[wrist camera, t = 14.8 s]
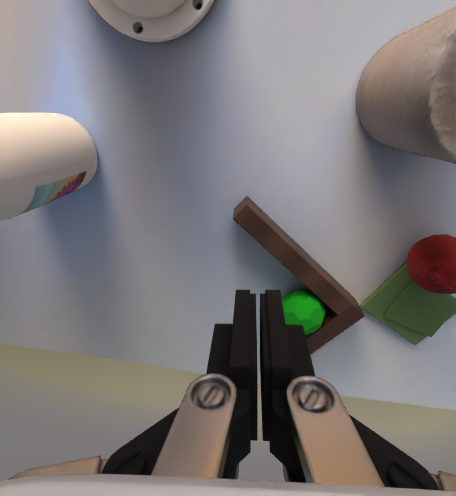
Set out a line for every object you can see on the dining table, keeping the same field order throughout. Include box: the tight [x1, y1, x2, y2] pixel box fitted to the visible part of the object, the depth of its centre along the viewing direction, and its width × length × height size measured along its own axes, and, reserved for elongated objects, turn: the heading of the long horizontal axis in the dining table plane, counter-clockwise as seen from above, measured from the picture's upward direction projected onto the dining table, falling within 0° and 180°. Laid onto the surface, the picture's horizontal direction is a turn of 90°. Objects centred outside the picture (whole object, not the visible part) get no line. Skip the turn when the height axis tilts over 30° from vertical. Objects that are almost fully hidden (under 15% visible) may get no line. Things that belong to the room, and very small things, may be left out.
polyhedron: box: [282, 290, 325, 335], centre depth 36 cm, size 5×5×5 cm
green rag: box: [360, 262, 456, 345], centre depth 37 cm, size 9×7×1 cm
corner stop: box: [233, 196, 364, 355], centre depth 36 cm, size 18×13×4 cm
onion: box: [406, 235, 456, 294], centre depth 31 cm, size 6×6×8 cm
